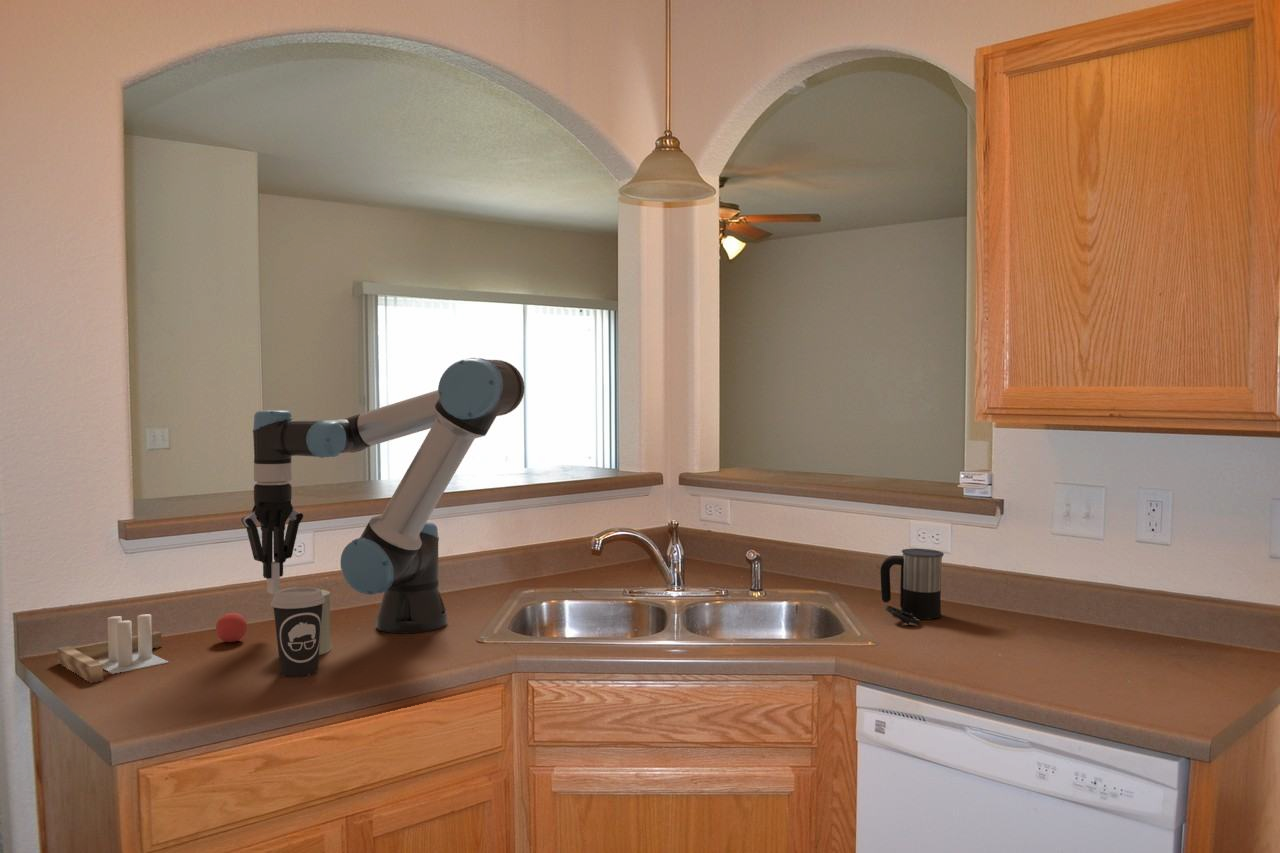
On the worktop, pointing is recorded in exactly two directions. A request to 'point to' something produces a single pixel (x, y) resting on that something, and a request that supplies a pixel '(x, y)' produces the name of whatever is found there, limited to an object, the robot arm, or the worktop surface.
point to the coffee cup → (298, 629)
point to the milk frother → (915, 584)
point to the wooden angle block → (94, 657)
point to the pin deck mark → (137, 664)
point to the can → (325, 625)
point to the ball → (231, 627)
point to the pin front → (144, 637)
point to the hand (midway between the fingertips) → (273, 592)
